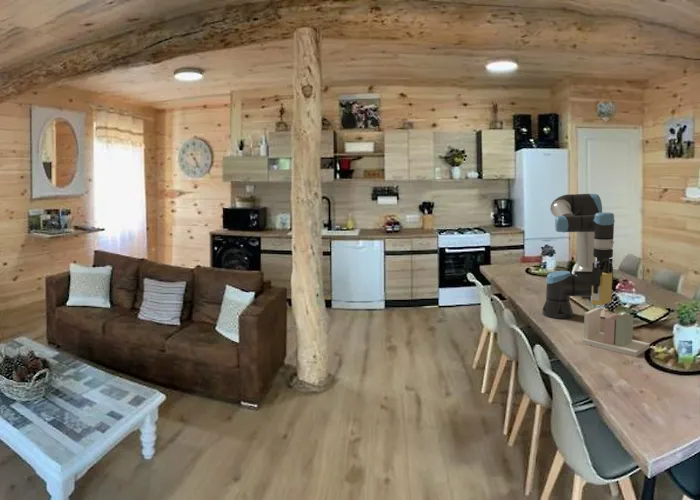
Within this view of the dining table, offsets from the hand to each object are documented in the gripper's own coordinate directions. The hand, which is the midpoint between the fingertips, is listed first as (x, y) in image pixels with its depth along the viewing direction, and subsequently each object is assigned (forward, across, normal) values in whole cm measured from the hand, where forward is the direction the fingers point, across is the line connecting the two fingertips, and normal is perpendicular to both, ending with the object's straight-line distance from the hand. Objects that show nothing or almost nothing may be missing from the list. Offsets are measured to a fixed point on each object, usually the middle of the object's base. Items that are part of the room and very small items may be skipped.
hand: (601, 298), depth 210 cm
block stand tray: (+21, 0, -6) cm, 22 cm away
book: (+2, 0, 0) cm, 2 cm away
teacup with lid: (+21, +15, +4) cm, 26 cm away
